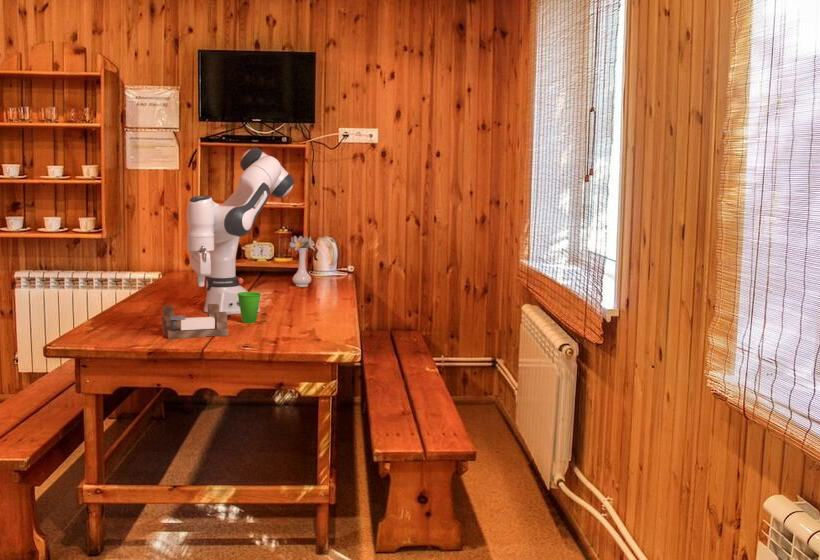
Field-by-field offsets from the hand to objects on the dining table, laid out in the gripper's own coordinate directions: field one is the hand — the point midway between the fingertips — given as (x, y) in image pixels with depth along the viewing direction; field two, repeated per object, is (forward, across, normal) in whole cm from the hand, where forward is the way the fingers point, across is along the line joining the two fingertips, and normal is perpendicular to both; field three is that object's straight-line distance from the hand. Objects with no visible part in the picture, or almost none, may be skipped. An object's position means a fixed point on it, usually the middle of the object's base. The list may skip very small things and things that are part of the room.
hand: (200, 286), depth 267 cm
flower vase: (+19, +110, -65) cm, 129 cm away
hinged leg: (+16, +7, +2) cm, 17 cm away
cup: (+19, +27, -22) cm, 40 cm away
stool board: (+19, +15, 0) cm, 24 cm away
